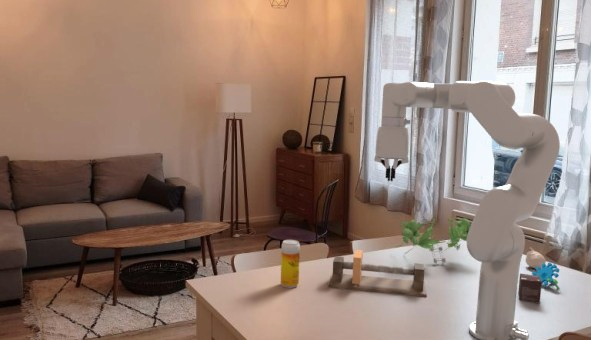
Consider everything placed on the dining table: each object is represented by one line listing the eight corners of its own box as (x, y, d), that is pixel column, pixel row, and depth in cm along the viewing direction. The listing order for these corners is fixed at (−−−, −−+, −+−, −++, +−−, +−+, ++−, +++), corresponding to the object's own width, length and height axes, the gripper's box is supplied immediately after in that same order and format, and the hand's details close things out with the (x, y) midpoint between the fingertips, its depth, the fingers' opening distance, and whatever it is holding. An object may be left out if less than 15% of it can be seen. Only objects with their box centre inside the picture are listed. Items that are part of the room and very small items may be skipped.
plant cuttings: (387, 276, 200) (410, 257, 181) (379, 236, 208) (399, 214, 189) (465, 271, 208) (494, 253, 189) (454, 233, 216) (481, 211, 197)
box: (537, 297, 164) (540, 275, 163) (540, 304, 159) (542, 281, 158) (517, 294, 166) (519, 273, 165) (519, 300, 161) (521, 278, 160)
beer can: (296, 289, 164) (298, 245, 162) (278, 287, 166) (279, 243, 164) (300, 282, 170) (301, 240, 168) (282, 281, 171) (284, 238, 169)
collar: (361, 275, 175) (362, 250, 174) (359, 284, 167) (361, 258, 165) (354, 274, 176) (355, 249, 175) (352, 283, 167) (353, 257, 166)
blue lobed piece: (524, 274, 181) (546, 257, 179) (533, 285, 182) (555, 267, 181) (541, 290, 170) (564, 271, 169) (550, 301, 172) (574, 282, 170)
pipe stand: (424, 283, 173) (426, 261, 172) (426, 296, 161) (428, 273, 160) (332, 275, 179) (333, 253, 178) (328, 286, 167) (329, 263, 166)
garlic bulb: (540, 266, 196) (542, 246, 195) (546, 271, 190) (549, 251, 189) (523, 265, 197) (524, 245, 196) (528, 270, 191) (530, 250, 190)
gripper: (417, 123, 159) (413, 180, 162) (370, 121, 162) (367, 177, 165) (418, 124, 152) (414, 183, 154) (368, 122, 155) (365, 181, 157)
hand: (390, 180), depth 160 cm, fingers closed
